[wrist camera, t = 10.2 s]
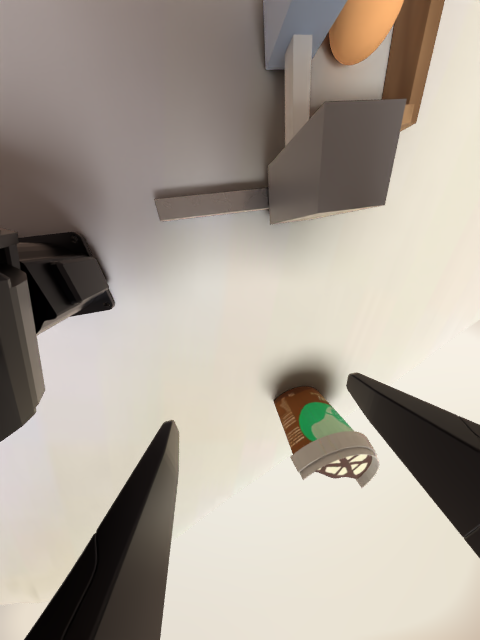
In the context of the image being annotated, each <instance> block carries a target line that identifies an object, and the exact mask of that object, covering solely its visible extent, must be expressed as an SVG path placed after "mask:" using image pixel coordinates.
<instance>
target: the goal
mask: <svg viewBox="0 0 480 640" xmlns="http://www.w3.org/2000/svg"><path fill="white" fill-rule="evenodd" d="M444 1H445V0H404V2H403V4H402V7H401V10H400V12H399V14H398V16H397V18H396V21H395V24H394V30H393V36H392V42H391V48H390V54H389V60H388V66H387V72H386V78H385V85H384V91H383V97H382V100H385V99H407V100H406V105H405V110H404V114H403V119H402V124H401V129H400V131H402V130H404V129H406V128H408V127H410V126H411V125H413V124H415V123H416V121H417V117H418V113H419V108H420V104H421V100H422V96H423V91H424V87H425V83H426V78H427V74H428V70H429V66H430V61H431V57H432V53H433V49H434V44H435V40H436V36H437V31H438V27H439V23H440V19H441V14H442V10H443V6H444Z"/></svg>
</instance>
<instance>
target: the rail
mask: <svg viewBox="0 0 480 640" xmlns="http://www.w3.org/2000/svg"><path fill="white" fill-rule="evenodd" d="M154 200H155V204H156V207H157V211H158V214H159V218H160V220H161V221H171V220H180V219H189V218H197V217H206V216H214V215H223V214H231V213H240V212H248V211H257V210H265V209H269V188H260V189H251V190H241V191H231V192H221V193H211V194H201V195H191V196H181V197H171V198H161V199H154Z"/></svg>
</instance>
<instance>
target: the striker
mask: <svg viewBox="0 0 480 640" xmlns="http://www.w3.org/2000/svg"><path fill="white" fill-rule="evenodd" d="M346 2H347V0H263V9H264V36H265V64H266V70H276V69H285V147H284V148H283V150H282V151H281V152H280V153H279V154H278V155H277V156H276V157H275V159H274V160H273V161H272V162H271V163H270V164H269V165H268V187H269V213H270V225H271V224H278V223H286V222H294V221H302V220H309V219H315V218H321V217H326V216H331V215H336V214H341V213H346V212H351V211H357V210H362V209H367V208H372V207H377V206H382V205H385V201H386V196H387V192H388V187H389V182H390V177H391V172H392V167H393V163H394V158H395V153H396V148H397V143H398V139H399V134H400V129H401V124H402V119H403V114H404V110H405V105H406V100H407V99H385V100H357V101H330V102H324V103H323V104H322V105H321V107H320V108H319V109H318V110H317V111H316V112H315V113H314V115H313V116H312V117H311V118H310V119H309V112H310V86H311V61H312V58H313V56H314V55H315V53H316V51H317V50H318V48H319V47H320V45H321V43H322V42H323V40H324V38H325V37H326V35H327V33H328V32H329V30H330V28H331V27H332V25H333V23H334V22H335V20H336V18H337V17H338V15H339V14H340V12H341V10H342V9H343V7H344V5H345V4H346Z"/></svg>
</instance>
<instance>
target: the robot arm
mask: <svg viewBox="0 0 480 640" xmlns="http://www.w3.org/2000/svg"><path fill="white" fill-rule="evenodd" d="M74 236H76V237H77V238H78V242H75V240H74ZM108 288H109V286H108V284H107V281H106V279H105V277H104V275H103V273H102V271H101V268H100V266H99V264H98V262H97V260H96V259H95V258H94V257H93V256H92V254H91V252H90V250H89V247H88V245H87V243H86V241H85V239H84V237H83V236H82V235H81V234H79V233H77V232H67V233H59V234H50V235H42V236H33V237H25V238H18V234H17V232H15V231H11V230H7V229H3V228H0V442H1V441H2V440H4V439H5V438H6V437H8V436H9V435H11V434H12V433H13V432H15V431H16V430H18V429H19V428H20V427H22V426H23V425H24V424H25V423H26V422H27V421H28V420H29V419H30V418H31V417H32V416H33V415H34V414H35V413H36V406H37V405H38V404H39V402H40V400H41V398H42V396H43V394H44V392H45V386H44V379H43V373H42V367H41V361H40V355H39V349H38V343H37V337H36V336H37V335H38V334H40V333H42V332H44V331H45V330H47V329H49V328H51V327H52V326H54V325H56V324H58V323H59V322H61V321H63V320H65V319H66V318H68V317H71V316H76V315H82V314H88V313H94V312H99V311H105V310H110V309H112V308H113V307H114V305H115V304H114V301H113V299H112V297H111V294H110V292H109V290H108ZM105 302H107V303H109V304H110V306H107V305H106V303H105ZM346 386H347V389H348V391H349V392H350V394H351V395H352V397H353V398H354V400H355V401H356V403H357V404H358V406H359V407H360V409H361V410H362V411H363V413H364V415H365V416H366V417H367V419H368V420H369V421H370V423H371V424H372V425H373V426H374V428H375V429H376V430H377V431H378V433H379V434H380V435H381V436H382V437H383V439H384V440H385V441H386V442H387V444H388V445H389V446H390V447H391V449H392V450H393V451H394V452H395V454H396V455H397V456H398V457H399V459H400V460H401V461H402V462H403V464H404V465H405V466H406V467H407V468H408V470H409V471H410V472H411V473H412V475H413V476H414V477H415V478H416V480H417V481H418V482H419V483H420V485H421V486H422V487H423V488H424V489H425V491H426V492H427V493H428V495H429V496H430V497H431V498H432V499H433V501H434V502H435V503H436V504H437V506H438V507H439V508H440V509H441V510H442V512H443V513H444V514H445V516H446V517H447V518H448V519H449V521H450V522H451V523H452V524H453V525H454V527H455V528H456V529H457V530H458V532H459V533H460V534H461V535H462V536H463V537H464V539H465V541H466V542H467V543H468V544H469V546H470V547H471V548H472V549H473V551H474V552H475V553H476V554H477V555H478V557H479V558H480V425H479V424H476V423H474V422H472V421H469V420H467V419H465V418H462V417H460V416H457V415H455V414H453V413H451V412H448V411H446V410H443V409H441V408H439V407H437V406H434V405H432V404H430V403H427V402H425V401H422V400H420V399H418V398H416V397H413V396H411V395H408V394H406V393H404V392H402V391H399V390H397V389H394V388H392V387H390V386H388V385H385V384H383V383H381V382H378V381H376V380H374V379H371V378H369V377H367V376H364V375H362V374H360V373H352V374H349V375H348V380H347V385H346ZM178 471H179V431H178V428H177V426H176V424H175V422H174V420H170V421H166V422H164V423H163V424H162V426H161V428H160V429H159V431H158V432H157V434H156V436H155V437H154V439H153V440H152V442H151V444H150V445H149V447H148V448H147V450H146V452H145V453H144V455H143V456H142V458H141V460H140V461H139V463H138V464H137V466H136V468H135V469H134V471H133V472H132V474H131V476H130V477H129V479H128V481H127V482H126V484H125V485H124V487H123V489H122V490H121V492H120V493H119V495H118V497H117V498H116V500H115V501H114V503H113V505H112V506H111V508H110V509H109V511H108V513H107V514H106V516H105V517H104V519H103V521H102V522H101V524H100V525H99V527H98V529H97V531H96V533H95V534H94V535H93V536H92V538H91V540H90V541H89V543H88V545H87V546H86V548H85V549H84V551H83V552H82V554H81V556H80V557H79V559H78V560H77V562H76V563H75V565H74V566H73V568H72V570H71V571H70V573H69V574H68V576H67V577H66V579H65V580H64V582H63V583H62V585H61V586H60V588H59V589H58V591H57V592H56V594H55V595H54V597H53V598H52V600H51V601H50V603H49V604H48V606H47V607H46V609H45V610H44V612H43V613H42V614H41V616H40V618H39V619H38V620H37V622H36V623H35V625H34V626H33V627H32V629H31V630H30V632H29V633H28V635H27V636H26V638H25V639H24V640H160V635H161V634H160V633H161V625H162V617H163V608H164V599H165V590H166V580H167V573H168V564H169V555H170V545H171V537H172V528H173V519H174V510H175V502H176V493H177V484H178Z"/></svg>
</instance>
